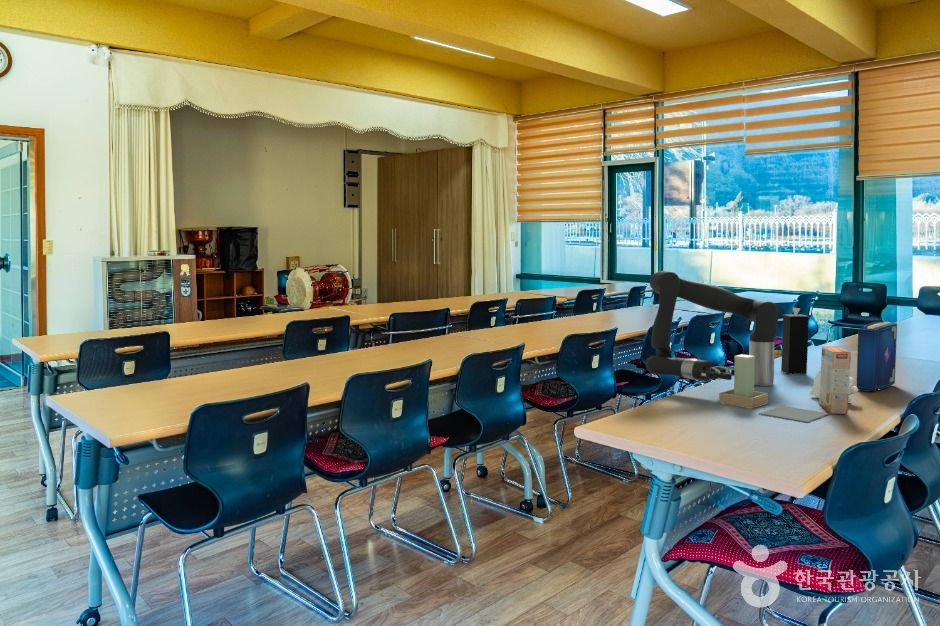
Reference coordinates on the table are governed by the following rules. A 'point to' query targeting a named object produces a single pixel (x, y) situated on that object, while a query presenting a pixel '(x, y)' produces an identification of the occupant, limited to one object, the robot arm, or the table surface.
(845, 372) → the cracker box
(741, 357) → the tea tin
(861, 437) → the table surface
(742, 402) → the wooden square frame
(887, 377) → the book
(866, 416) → the table surface
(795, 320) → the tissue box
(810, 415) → the mat
